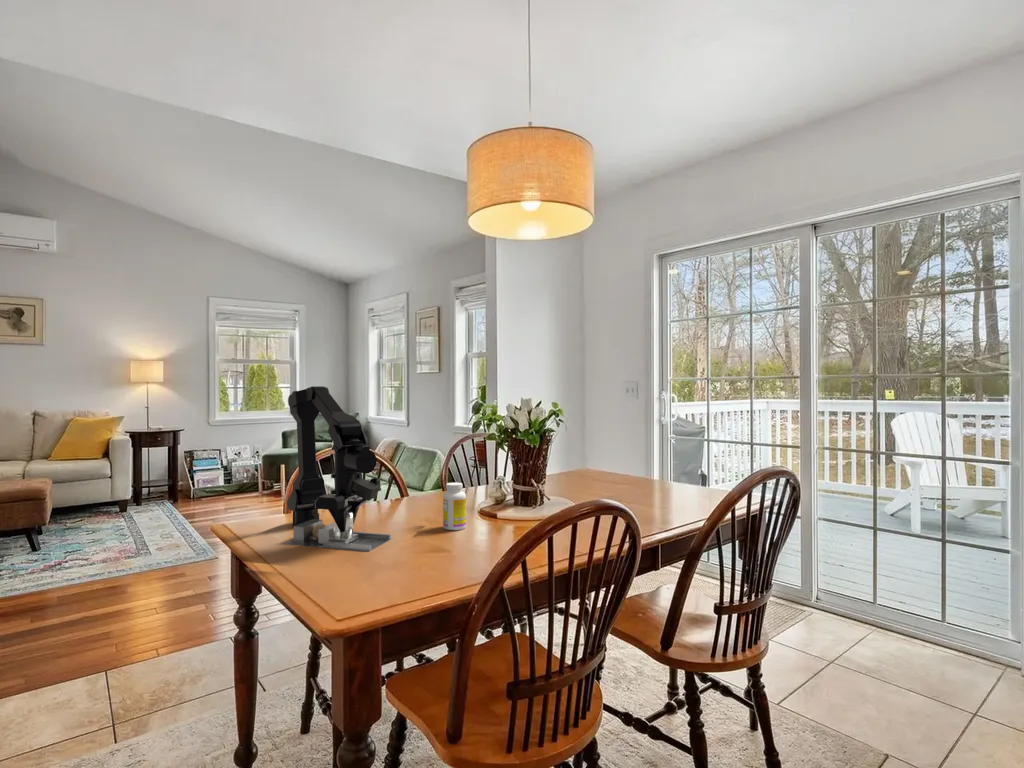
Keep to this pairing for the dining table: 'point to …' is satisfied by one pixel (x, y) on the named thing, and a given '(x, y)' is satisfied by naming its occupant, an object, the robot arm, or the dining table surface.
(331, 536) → the ram
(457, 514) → the supplement bottle
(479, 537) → the dining table surface
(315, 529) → the tan ball
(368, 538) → the press base
